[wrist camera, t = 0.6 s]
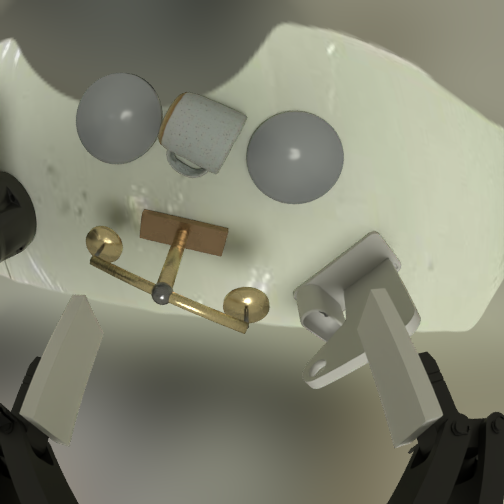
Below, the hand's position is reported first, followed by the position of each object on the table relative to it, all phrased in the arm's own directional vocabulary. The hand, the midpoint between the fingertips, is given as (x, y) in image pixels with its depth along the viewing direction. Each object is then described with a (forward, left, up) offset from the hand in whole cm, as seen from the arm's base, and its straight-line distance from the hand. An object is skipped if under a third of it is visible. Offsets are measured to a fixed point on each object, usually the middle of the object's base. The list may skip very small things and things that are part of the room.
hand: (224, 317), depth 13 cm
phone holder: (+22, -14, -27) cm, 37 cm away
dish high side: (+7, +2, -26) cm, 27 cm away
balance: (-5, -12, -26) cm, 29 cm away
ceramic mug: (-5, +1, -27) cm, 27 cm away
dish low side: (-16, +2, -26) cm, 31 cm away
